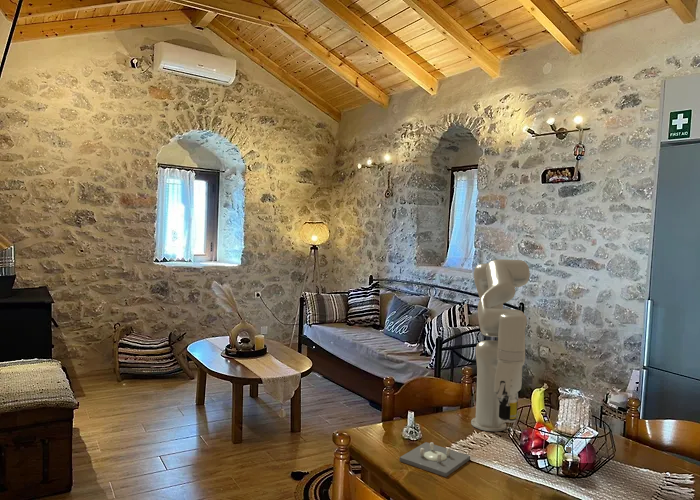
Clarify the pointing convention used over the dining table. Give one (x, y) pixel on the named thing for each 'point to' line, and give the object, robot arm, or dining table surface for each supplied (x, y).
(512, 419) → the supplement bottle
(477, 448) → the dining table surface
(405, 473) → the dining table surface
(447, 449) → the pin tray
